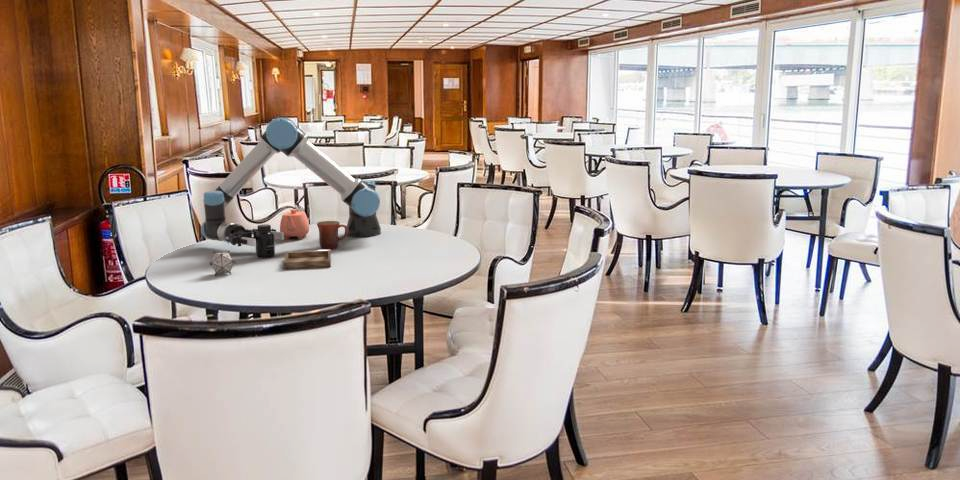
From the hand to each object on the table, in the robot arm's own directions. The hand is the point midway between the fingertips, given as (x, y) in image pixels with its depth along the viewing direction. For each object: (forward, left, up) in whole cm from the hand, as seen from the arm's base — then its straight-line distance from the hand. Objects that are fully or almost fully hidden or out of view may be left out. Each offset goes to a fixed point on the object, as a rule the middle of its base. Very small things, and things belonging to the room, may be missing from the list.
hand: (268, 239), depth 264 cm
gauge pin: (-16, 0, -7) cm, 18 cm away
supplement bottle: (+2, -2, -7) cm, 8 cm away
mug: (-23, -11, -7) cm, 27 cm away
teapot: (-7, -36, -7) cm, 37 cm away
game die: (+14, +22, -7) cm, 27 cm away
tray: (-14, +12, -7) cm, 20 cm away
